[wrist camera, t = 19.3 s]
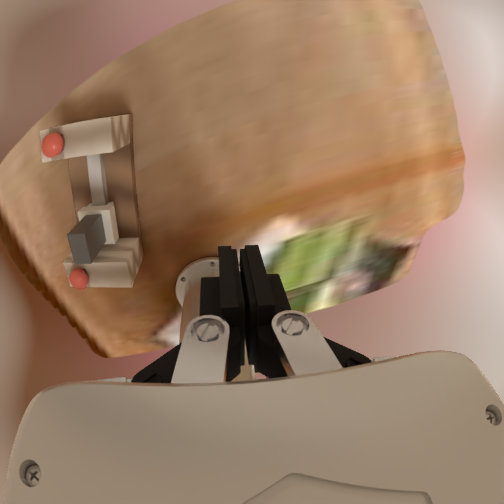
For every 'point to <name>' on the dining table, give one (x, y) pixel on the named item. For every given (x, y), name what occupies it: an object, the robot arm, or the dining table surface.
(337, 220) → the dining table surface
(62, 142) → the red rounded knob
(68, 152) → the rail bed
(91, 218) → the carriage
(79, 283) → the red knob cap
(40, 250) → the dining table surface
